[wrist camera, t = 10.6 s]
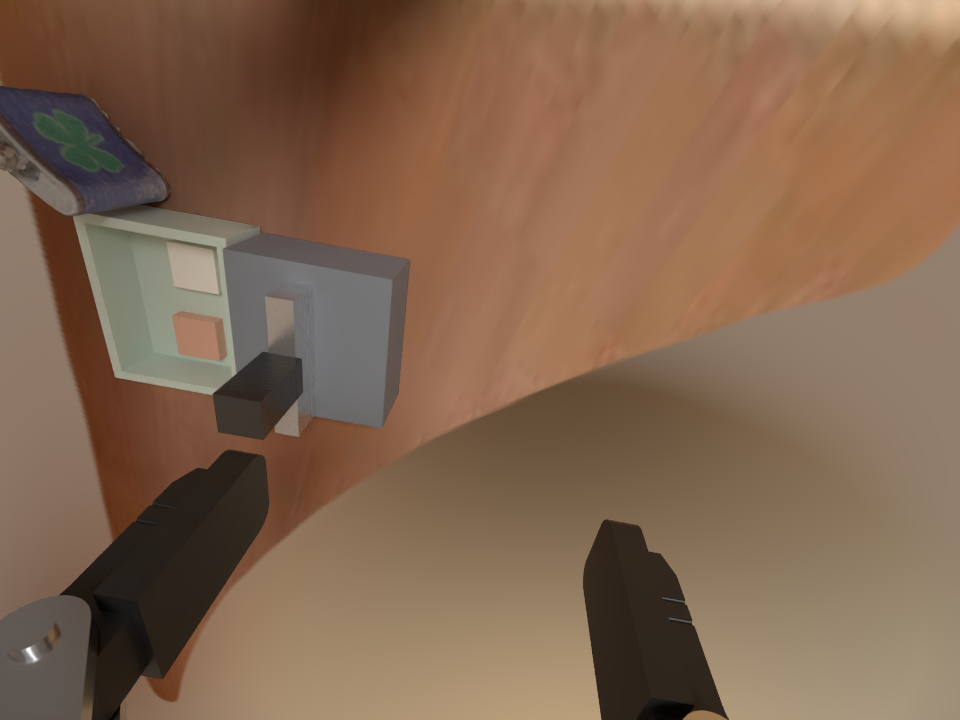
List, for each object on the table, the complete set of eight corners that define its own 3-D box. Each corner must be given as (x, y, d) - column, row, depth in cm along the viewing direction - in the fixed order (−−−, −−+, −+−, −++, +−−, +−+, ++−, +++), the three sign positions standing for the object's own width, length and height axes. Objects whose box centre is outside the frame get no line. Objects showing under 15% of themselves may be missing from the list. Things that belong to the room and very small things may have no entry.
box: (123, 201, 38) (71, 210, 34) (259, 226, 38) (225, 238, 34) (155, 353, 45) (115, 377, 41) (270, 374, 45) (243, 400, 41)
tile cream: (212, 249, 37) (221, 246, 38) (166, 241, 37) (176, 238, 38) (218, 294, 39) (226, 290, 40) (174, 286, 39) (183, 282, 40)
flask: (178, 189, 37) (60, 208, 28) (158, 209, 38) (37, 234, 29) (83, 85, 34) (-86, 66, 25) (64, 110, 35) (-106, 101, 26)
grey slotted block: (263, 232, 38) (222, 248, 33) (410, 259, 38) (392, 279, 33) (272, 370, 45) (239, 402, 40) (398, 393, 45) (381, 428, 40)
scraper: (281, 280, 34) (202, 328, 25) (320, 286, 34) (254, 337, 25) (288, 408, 39) (225, 482, 31) (321, 413, 39) (267, 490, 31)
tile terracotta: (214, 323, 40) (222, 318, 41) (171, 315, 40) (180, 310, 41) (220, 361, 42) (227, 355, 43) (179, 353, 42) (187, 348, 43)
